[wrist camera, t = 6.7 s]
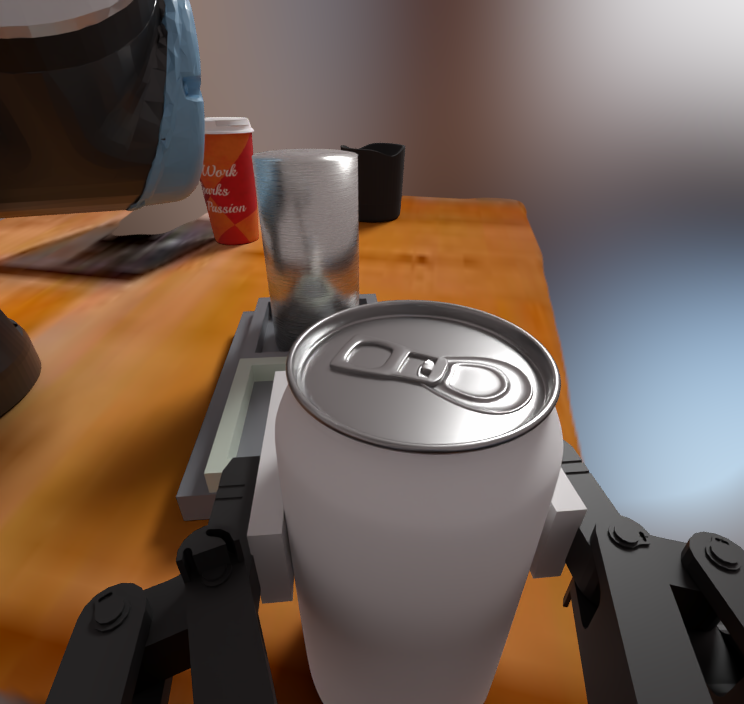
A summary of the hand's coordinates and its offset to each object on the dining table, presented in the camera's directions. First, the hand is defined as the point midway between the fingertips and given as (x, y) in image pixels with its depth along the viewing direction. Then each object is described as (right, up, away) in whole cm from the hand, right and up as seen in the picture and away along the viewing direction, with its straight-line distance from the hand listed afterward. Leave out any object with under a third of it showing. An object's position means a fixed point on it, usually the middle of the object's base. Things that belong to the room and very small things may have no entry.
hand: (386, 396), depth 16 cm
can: (0, -9, 0) cm, 9 cm away
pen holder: (0, +23, +52) cm, 57 cm away
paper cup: (-18, +16, +41) cm, 48 cm away
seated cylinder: (-4, +3, +15) cm, 16 cm away
